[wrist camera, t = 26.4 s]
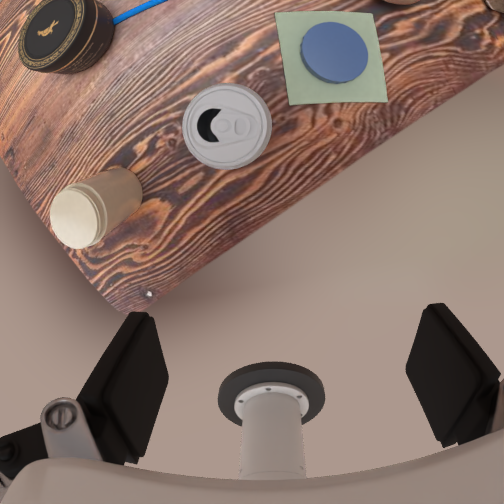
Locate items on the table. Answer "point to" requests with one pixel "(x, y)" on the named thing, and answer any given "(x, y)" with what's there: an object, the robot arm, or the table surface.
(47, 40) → the jar
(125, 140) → the table surface
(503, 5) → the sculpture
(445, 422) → the robot arm
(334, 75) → the jar lid
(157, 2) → the pen
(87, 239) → the jam jar
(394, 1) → the apple
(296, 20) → the coaster
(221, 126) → the beverage can
